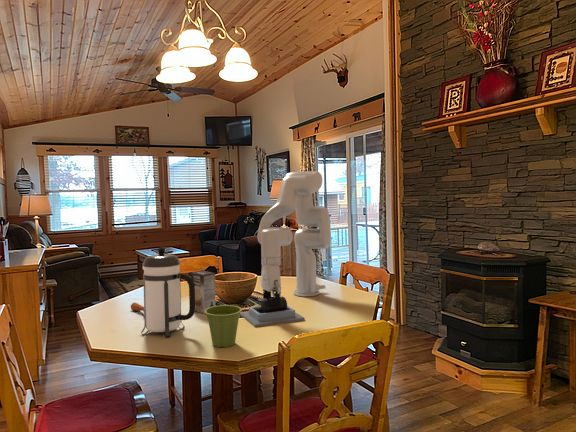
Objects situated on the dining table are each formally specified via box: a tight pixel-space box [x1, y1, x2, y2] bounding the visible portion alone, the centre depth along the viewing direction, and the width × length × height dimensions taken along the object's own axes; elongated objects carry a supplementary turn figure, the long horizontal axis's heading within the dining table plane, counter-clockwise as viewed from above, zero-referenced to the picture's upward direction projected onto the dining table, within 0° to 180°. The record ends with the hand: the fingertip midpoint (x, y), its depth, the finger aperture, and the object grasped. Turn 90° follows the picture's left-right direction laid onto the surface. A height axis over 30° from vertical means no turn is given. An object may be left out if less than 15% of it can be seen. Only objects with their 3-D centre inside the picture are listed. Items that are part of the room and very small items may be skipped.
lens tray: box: [240, 305, 306, 328], centre depth 170 cm, size 20×18×4 cm
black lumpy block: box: [256, 295, 288, 314], centre depth 170 cm, size 10×7×7 cm
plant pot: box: [205, 304, 243, 348], centre depth 140 cm, size 12×12×11 cm
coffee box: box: [190, 270, 216, 315], centre depth 182 cm, size 9×6×16 cm
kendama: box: [130, 302, 144, 313], centre depth 177 cm, size 6×6×20 cm
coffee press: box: [140, 246, 196, 338], centre depth 153 cm, size 17×16×30 cm
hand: (271, 304), depth 170 cm, fingers open, 9 cm apart
